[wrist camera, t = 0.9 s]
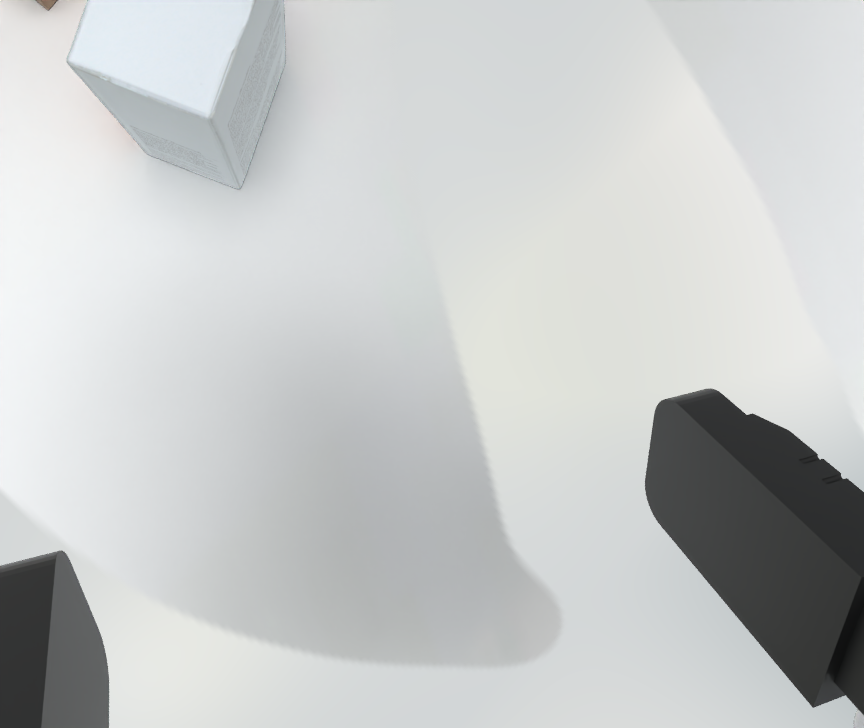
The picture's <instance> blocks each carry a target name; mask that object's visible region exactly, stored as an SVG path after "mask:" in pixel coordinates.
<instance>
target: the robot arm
mask: <svg viewBox="0 0 864 728" xmlns="http://www.w3.org/2000/svg"><path fill="white" fill-rule="evenodd" d="M817 455H818V454H817V453H816V452H814V451H813V450H812V449H811V448H810V447H808V446H807V445H806V444H805V443H803V442H802V441H801V440H800V439H798V438H797V437H796V436H795V435H794V434H793V433H791V432H790V431H789V430H787V429H784V428H782V427H780V426H778V425H776V424H774V423H771V422H769V421H767V420H765V419H763V418H761V417H759V416H757V415H755V414H750V415H746V414H745V413H744V412H742V411H741V410H740V409H739V408H738V407H737V406H735V405H734V404H733V403H732V402H731V401H730V400H728V399H727V398H726V397H725V396H724V395H723V394H721V393H720V392H719V391H717V390H714V389H704V390H700V391H697V392H692V393H688V394H684V395H680V396H677V397H673V398H669V399H665V400H662V401H661V402H660V403H659V404H658V405H657V407H656V410H655V414H654V421H653V428H652V435H651V442H650V450H649V456H648V464H647V471H646V478H645V490H646V496H647V500H648V503H649V506H650V508H651V510H652V513H653V515H654V517H655V518H656V520H657V521H658V523H659V524H660V525H661V526H662V528H663V529H664V530H665V531H666V532H667V534H668V535H669V536H670V537H671V538H672V540H673V541H674V542H675V543H676V544H677V546H678V547H679V548H680V549H681V550H682V552H683V553H684V554H685V555H686V556H687V558H688V559H689V560H690V561H691V562H692V564H693V565H694V566H695V567H696V568H697V569H698V571H699V572H700V573H701V574H702V575H703V577H704V578H705V579H706V580H707V581H708V583H709V584H710V585H711V586H712V587H713V589H714V590H715V591H716V592H717V593H718V594H719V596H720V597H721V598H722V599H723V601H724V602H725V603H726V604H727V605H728V607H729V608H730V609H731V610H732V611H733V612H734V614H735V615H736V616H737V617H738V618H739V620H740V621H741V622H742V623H743V624H744V626H745V627H746V628H747V629H748V630H749V632H750V633H751V634H752V635H753V636H754V638H755V639H756V640H757V641H758V642H759V644H760V645H761V646H762V647H763V648H764V650H765V651H766V652H767V653H768V654H769V656H770V657H771V658H772V659H773V660H774V662H775V663H776V664H777V665H778V666H779V668H780V669H781V670H782V671H783V672H784V673H785V675H786V676H787V677H788V678H789V680H790V681H791V682H792V683H793V684H794V685H795V687H796V688H797V689H798V690H799V691H800V693H801V694H802V695H803V696H804V697H805V698H806V700H807V701H808V702H809V703H810V705H811V706H812V707H816V706H819V705H821V704H824V703H827V702H829V701H832V700H834V699H837V698H839V697H842V696H845V695H846V696H847V697H848V698H849V699H850V700H851V701H852V703H853V704H854V705H855V706H856V707H857V708H858V710H857V712H856V714H855V718H854V728H864V492H863V491H862V490H860V489H859V488H858V487H857V486H855V485H854V484H853V483H852V482H851V481H849V480H848V479H842V477H841V473H840V472H839V471H837V470H836V469H835V468H834V467H833V466H831V465H830V464H829V463H827V462H826V461H825V460H824V459H821V460H820V459H819V458H818V456H817ZM0 728H109V675H108V666H107V659H106V653H105V649H104V645H103V641H102V637H101V634H100V632H99V629H98V627H97V624H96V622H95V620H94V617H93V615H92V612H91V610H90V608H89V605H88V603H87V600H86V598H85V596H84V593H83V591H82V588H81V586H80V584H79V581H78V579H77V576H76V574H75V572H74V569H73V567H72V564H71V562H70V560H69V558H68V556H67V555H66V553H65V552H63V551H57V552H53V553H49V554H46V555H41V556H37V557H34V558H29V559H25V560H22V561H18V562H14V563H10V564H6V565H2V566H0Z"/></svg>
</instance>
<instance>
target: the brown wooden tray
mask: <svg viewBox="0 0 864 728" xmlns="http://www.w3.org/2000/svg"><path fill="white" fill-rule="evenodd" d="M36 1H37V2H38V3H39V4H41V5H42V6H43V7H44V8H46V9H47V10H49V9H50V8H51V7H52V6H53V5H54V3H55V2H56V1H57V0H36Z"/></svg>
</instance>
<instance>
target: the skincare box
mask: <svg viewBox="0 0 864 728" xmlns="http://www.w3.org/2000/svg"><path fill="white" fill-rule="evenodd" d="M285 50H286V48H285V16H284V0H87V3H86V6H85V9H84V12H83V14H82V17H81V20H80V23H79V26H78V29H77V32H76V35H75V38H74V41H73V44H72V46H71V49H70V52H69V54H68V56H67V63H68V65H69V66H70V67H71V68H72V69H73V70H74V72H75V73H76V74H77V75H78V76H79V77H80V78H81V79H82V80H83V82H84V83H85V84H86V85H87V86H88V87H89V89H90V90H91V91H92V92H93V93H94V94H95V96H96V97H97V98H98V99H99V100H100V101H101V102H102V103H103V105H104V106H105V107H106V108H107V109H108V110H109V111H110V112H111V113H112V115H113V116H114V117H115V118H116V119H117V120H118V122H119V123H120V124H121V125H122V126H123V127H124V128H125V130H126V131H127V132H128V133H129V134H130V135H131V136H132V138H133V139H134V140H135V141H136V142H137V143H138V145H139V146H140V147H141V148H142V149H143V150H144V151H145V152H146V153H147V154H148V155H151V156H153V157H155V158H158V159H161V160H164V161H166V162H169V163H171V164H174V165H176V166H179V167H181V168H184V169H187V170H189V171H192V172H194V173H197V174H199V175H202V176H204V177H207V178H209V179H212V180H215V181H217V182H220V183H222V184H225V185H228V186H230V187H233V188H236V189H240V188H241V187H242V184H243V182H244V179H245V176H246V173H247V170H248V168H249V165H250V162H251V159H252V156H253V154H254V151H255V148H256V145H257V142H258V139H259V137H260V134H261V131H262V128H263V125H264V123H265V120H266V117H267V114H268V111H269V108H270V105H271V103H272V100H273V97H274V94H275V91H276V88H277V85H278V83H279V80H280V77H281V74H282V71H283V68H284V66H285V63H286V51H285Z"/></svg>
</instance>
